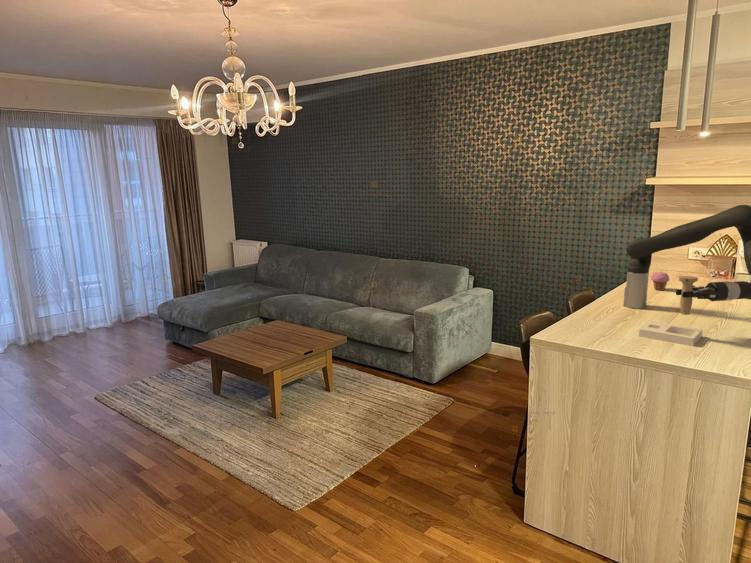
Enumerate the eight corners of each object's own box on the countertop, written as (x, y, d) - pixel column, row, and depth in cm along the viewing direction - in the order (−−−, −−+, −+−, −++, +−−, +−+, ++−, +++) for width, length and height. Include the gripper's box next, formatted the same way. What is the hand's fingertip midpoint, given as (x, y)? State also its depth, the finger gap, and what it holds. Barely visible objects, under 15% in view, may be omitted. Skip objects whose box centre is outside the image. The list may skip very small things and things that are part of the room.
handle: (676, 311, 203) (679, 275, 200) (695, 313, 199) (698, 276, 196) (674, 314, 199) (677, 277, 196) (693, 316, 195) (697, 279, 192)
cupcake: (668, 292, 269) (669, 273, 267) (649, 290, 274) (651, 272, 271) (668, 288, 276) (670, 270, 274) (650, 287, 281) (652, 269, 279)
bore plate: (638, 336, 203) (639, 329, 203) (649, 327, 213) (650, 320, 212) (692, 346, 190) (693, 338, 190) (701, 336, 200) (702, 329, 199)
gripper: (711, 278, 204) (669, 280, 203) (736, 285, 190) (691, 288, 190) (709, 296, 205) (668, 298, 205) (734, 304, 192) (690, 307, 191)
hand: (679, 293), depth 197 cm, fingers closed on handle, 3 cm apart
